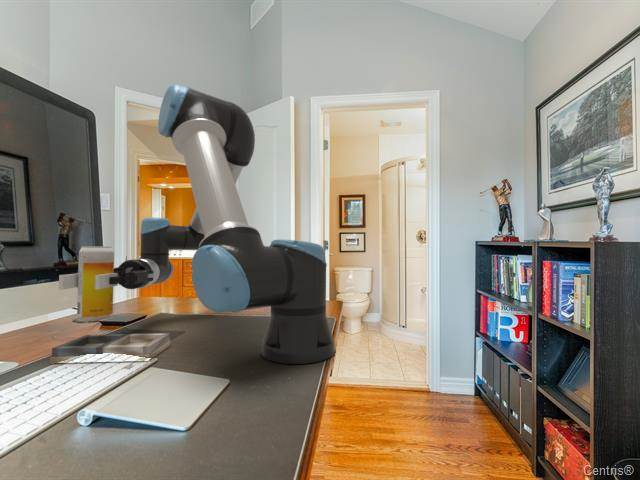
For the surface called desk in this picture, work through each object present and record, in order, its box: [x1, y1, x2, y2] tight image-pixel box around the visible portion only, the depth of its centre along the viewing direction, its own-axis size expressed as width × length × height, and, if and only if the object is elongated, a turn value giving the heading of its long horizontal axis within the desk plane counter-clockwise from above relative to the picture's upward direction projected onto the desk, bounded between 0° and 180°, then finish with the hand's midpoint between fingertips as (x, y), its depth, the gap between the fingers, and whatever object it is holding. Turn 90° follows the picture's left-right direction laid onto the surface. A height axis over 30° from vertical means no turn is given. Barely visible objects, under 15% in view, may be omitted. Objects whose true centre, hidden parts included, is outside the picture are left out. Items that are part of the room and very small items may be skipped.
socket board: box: [49, 332, 171, 365], centre depth 67 cm, size 18×11×3 cm, turn 94°
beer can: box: [76, 245, 115, 322], centre depth 68 cm, size 6×6×15 cm
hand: (79, 282), depth 62 cm, fingers closed on beer can, 6 cm apart
